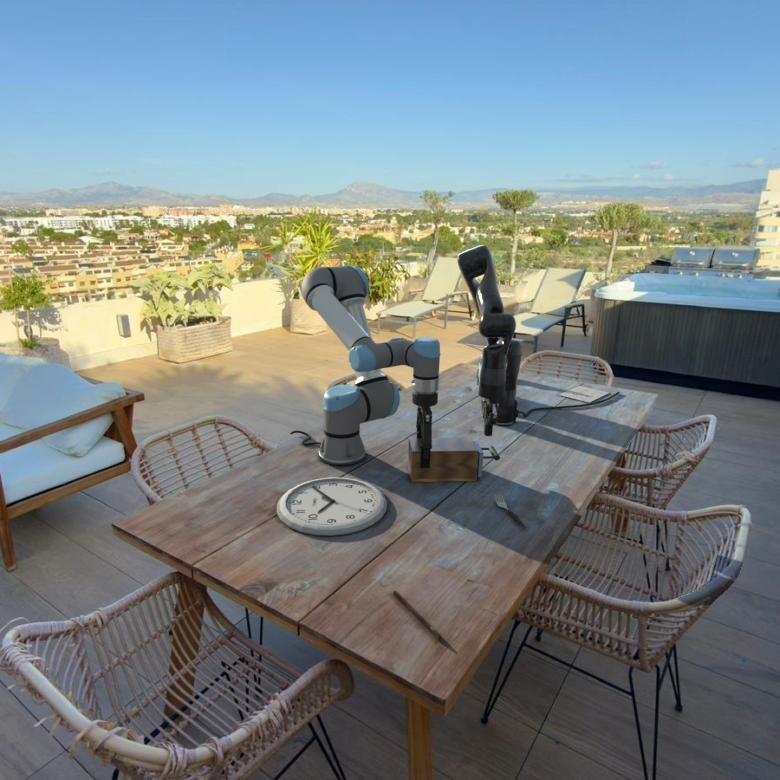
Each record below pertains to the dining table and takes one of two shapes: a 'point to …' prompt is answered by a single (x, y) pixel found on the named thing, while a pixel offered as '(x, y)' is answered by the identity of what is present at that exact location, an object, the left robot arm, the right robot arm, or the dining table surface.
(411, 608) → the dark brown thin rod
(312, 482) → the wall clock
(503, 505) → the fork
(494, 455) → the drawer
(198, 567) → the dining table surface
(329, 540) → the dining table surface
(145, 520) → the dining table surface
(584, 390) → the invitation card
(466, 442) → the cabinet
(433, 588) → the dining table surface
